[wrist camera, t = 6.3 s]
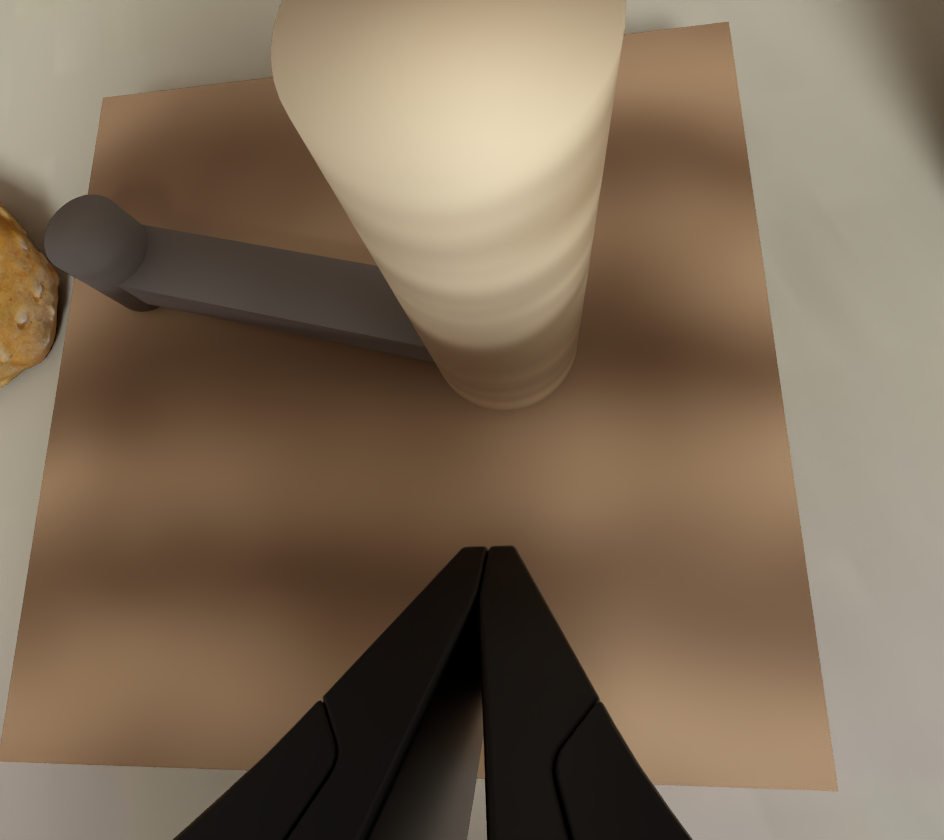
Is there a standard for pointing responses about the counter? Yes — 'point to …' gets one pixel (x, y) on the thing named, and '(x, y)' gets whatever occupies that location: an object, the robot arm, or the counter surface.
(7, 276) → the bagel
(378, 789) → the robot arm
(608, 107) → the folding leg
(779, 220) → the counter surface
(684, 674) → the stool seat
